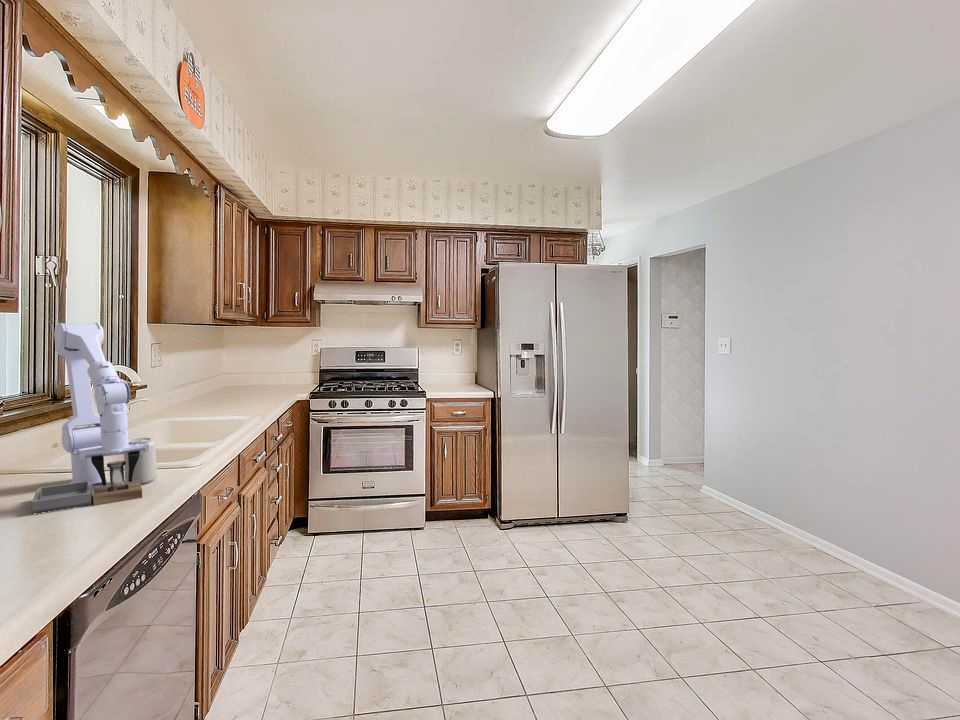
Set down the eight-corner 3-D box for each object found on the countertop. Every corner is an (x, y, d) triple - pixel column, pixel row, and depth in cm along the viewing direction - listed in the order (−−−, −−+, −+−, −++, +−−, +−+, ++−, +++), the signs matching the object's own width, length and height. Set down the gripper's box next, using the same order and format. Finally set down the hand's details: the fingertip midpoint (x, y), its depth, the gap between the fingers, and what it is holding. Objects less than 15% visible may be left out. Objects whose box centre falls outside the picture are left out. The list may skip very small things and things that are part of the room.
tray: (38, 499, 135) (37, 487, 135) (92, 491, 141) (91, 480, 141) (32, 514, 124) (31, 502, 124) (91, 505, 130) (90, 493, 130)
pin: (108, 495, 138) (106, 462, 137) (127, 492, 140) (125, 460, 139) (108, 499, 134) (106, 465, 134) (127, 496, 137) (125, 463, 136)
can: (121, 487, 145) (118, 443, 144) (131, 479, 152) (128, 437, 151) (152, 484, 147) (150, 441, 146) (160, 476, 154) (158, 435, 153)
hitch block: (94, 494, 138) (94, 486, 138) (140, 487, 144) (140, 480, 144) (93, 505, 130) (93, 497, 130) (142, 497, 136) (141, 489, 136)
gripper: (77, 436, 128) (81, 492, 129) (149, 429, 137) (151, 481, 138) (79, 431, 134) (82, 485, 135) (147, 424, 142) (150, 475, 143)
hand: (117, 482), depth 137 cm, fingers open, 5 cm apart
